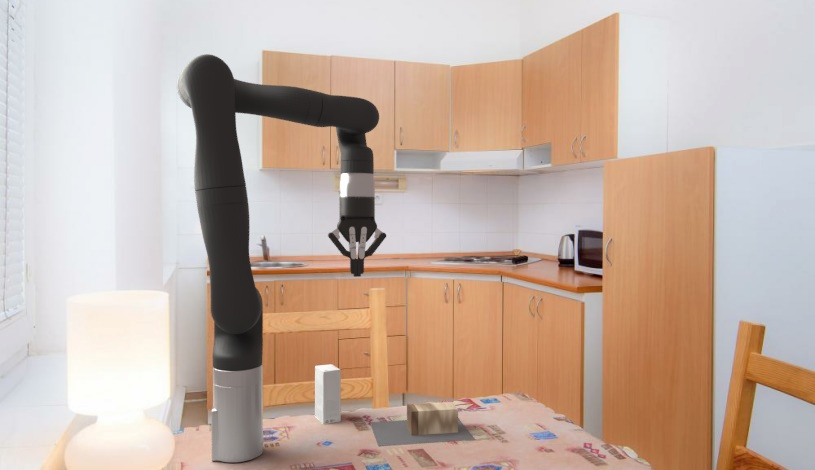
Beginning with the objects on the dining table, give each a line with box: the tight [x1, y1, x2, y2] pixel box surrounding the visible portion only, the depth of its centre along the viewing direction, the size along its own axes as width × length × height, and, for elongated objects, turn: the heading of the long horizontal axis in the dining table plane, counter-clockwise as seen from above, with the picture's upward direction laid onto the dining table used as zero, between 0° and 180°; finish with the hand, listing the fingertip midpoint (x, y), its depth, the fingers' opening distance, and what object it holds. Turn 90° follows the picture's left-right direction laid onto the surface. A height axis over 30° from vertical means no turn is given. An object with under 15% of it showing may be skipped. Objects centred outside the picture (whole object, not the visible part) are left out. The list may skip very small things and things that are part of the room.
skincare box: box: [314, 363, 342, 425], centre depth 137 cm, size 6×4×12 cm
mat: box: [369, 417, 476, 447], centre depth 129 cm, size 20×14×1 cm
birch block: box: [406, 401, 459, 436], centre depth 130 cm, size 5×5×10 cm
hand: (357, 276), depth 131 cm, fingers closed
